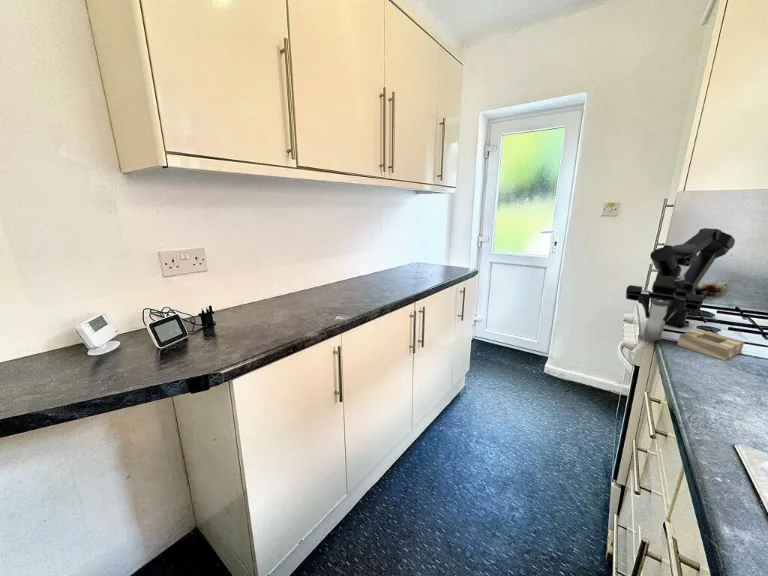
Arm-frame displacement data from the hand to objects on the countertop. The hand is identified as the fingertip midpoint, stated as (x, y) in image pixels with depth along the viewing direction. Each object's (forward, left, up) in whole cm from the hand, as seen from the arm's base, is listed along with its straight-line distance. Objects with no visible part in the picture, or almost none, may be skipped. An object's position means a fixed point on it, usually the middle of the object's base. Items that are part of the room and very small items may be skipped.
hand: (656, 319), depth 100 cm
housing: (-10, +11, -8) cm, 17 cm away
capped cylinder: (-1, 0, -7) cm, 7 cm away
